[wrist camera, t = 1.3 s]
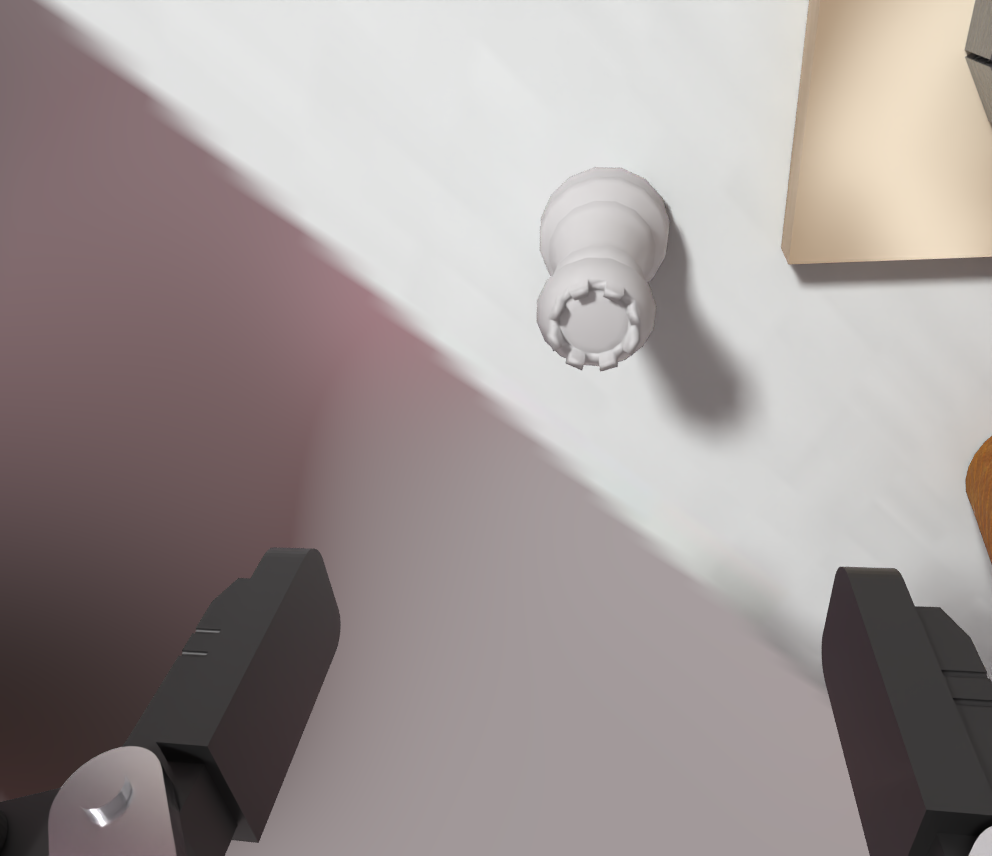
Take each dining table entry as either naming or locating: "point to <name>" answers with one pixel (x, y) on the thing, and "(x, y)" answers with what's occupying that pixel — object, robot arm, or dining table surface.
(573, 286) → the rook chess piece
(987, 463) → the disposable coffee cup
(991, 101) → the steel socket collar
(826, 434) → the dining table surface
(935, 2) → the birch base plate
